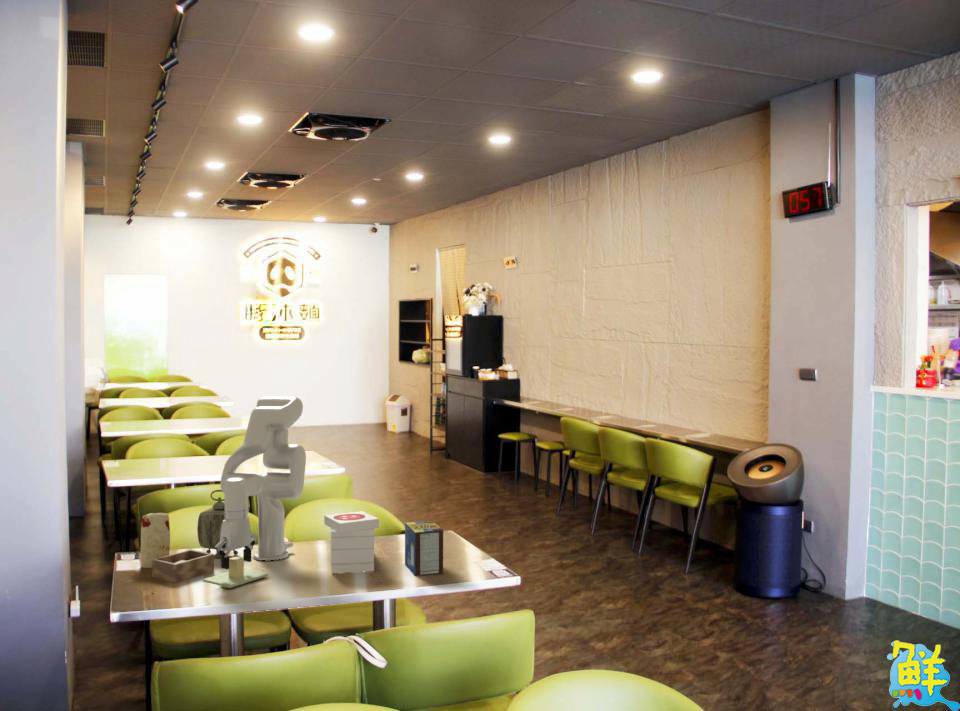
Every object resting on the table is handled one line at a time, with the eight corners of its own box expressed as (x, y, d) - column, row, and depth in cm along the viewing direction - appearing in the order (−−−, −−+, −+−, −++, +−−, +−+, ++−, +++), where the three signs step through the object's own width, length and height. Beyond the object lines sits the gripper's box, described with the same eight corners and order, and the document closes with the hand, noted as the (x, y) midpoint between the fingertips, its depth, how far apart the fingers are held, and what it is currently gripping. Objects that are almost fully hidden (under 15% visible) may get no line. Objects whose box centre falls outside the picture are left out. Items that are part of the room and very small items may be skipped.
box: (190, 568, 292) (190, 549, 292) (213, 574, 286) (213, 554, 286) (151, 580, 278) (151, 559, 278) (175, 586, 272) (175, 564, 272)
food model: (139, 572, 288) (139, 515, 287) (141, 566, 294) (141, 511, 294) (169, 570, 290) (169, 513, 290) (171, 565, 297) (171, 509, 296)
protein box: (432, 562, 303) (432, 520, 303) (443, 573, 289) (443, 529, 289) (404, 564, 300) (404, 522, 300) (414, 576, 286) (414, 531, 285)
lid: (241, 572, 289) (241, 550, 289) (268, 578, 283) (268, 555, 282) (202, 584, 275) (202, 561, 275) (230, 591, 268) (230, 567, 268)
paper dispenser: (374, 551, 318) (374, 504, 318) (379, 573, 289) (380, 522, 288) (324, 553, 315) (324, 506, 314) (324, 575, 285) (324, 523, 285)
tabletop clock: (242, 554, 312) (242, 488, 312) (232, 560, 303) (232, 492, 303) (205, 552, 314) (205, 487, 313) (195, 559, 305) (195, 491, 304)
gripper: (247, 508, 288) (248, 557, 288) (208, 518, 273) (208, 569, 273) (263, 511, 284) (263, 560, 284) (223, 521, 269) (224, 573, 270)
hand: (236, 564), depth 279 cm, fingers open, 9 cm apart
